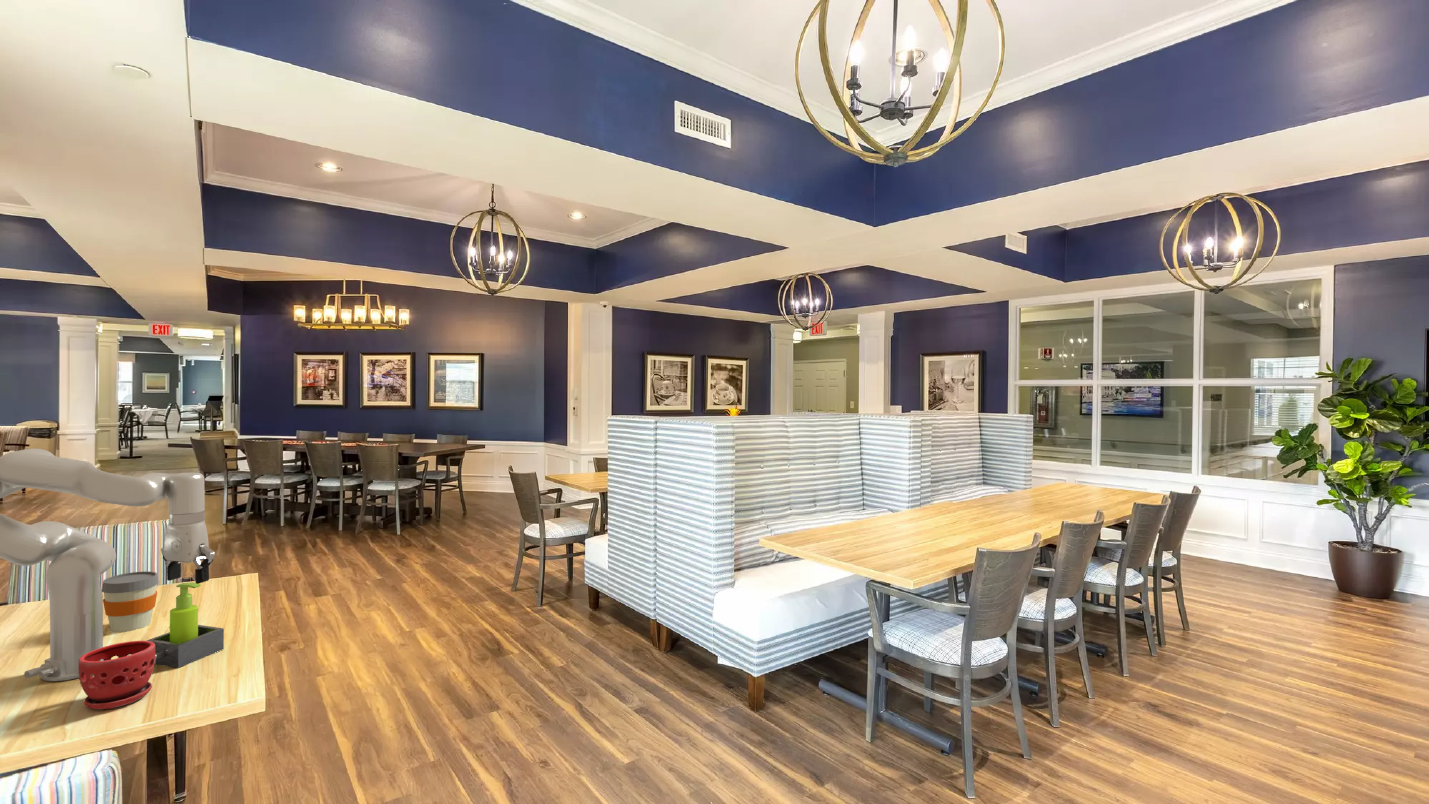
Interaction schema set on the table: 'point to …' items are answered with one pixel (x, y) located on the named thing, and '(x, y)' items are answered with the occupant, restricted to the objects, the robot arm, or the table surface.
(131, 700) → the plant pot
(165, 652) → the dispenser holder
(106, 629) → the table surface
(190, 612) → the soap dispenser
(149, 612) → the reusable coffee cup
